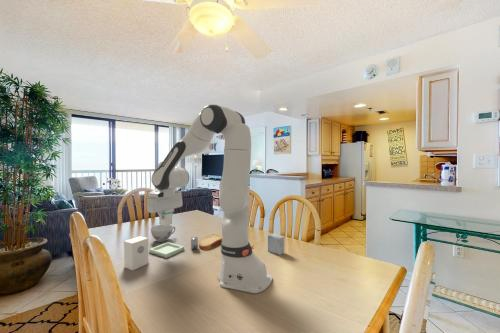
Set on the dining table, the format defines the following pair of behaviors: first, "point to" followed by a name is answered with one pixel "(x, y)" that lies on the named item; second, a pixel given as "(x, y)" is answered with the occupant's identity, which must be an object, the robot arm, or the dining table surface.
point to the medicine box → (276, 244)
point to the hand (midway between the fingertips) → (165, 218)
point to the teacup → (162, 232)
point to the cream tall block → (136, 252)
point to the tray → (166, 249)
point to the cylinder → (194, 243)
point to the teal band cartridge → (166, 217)
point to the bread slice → (210, 242)
